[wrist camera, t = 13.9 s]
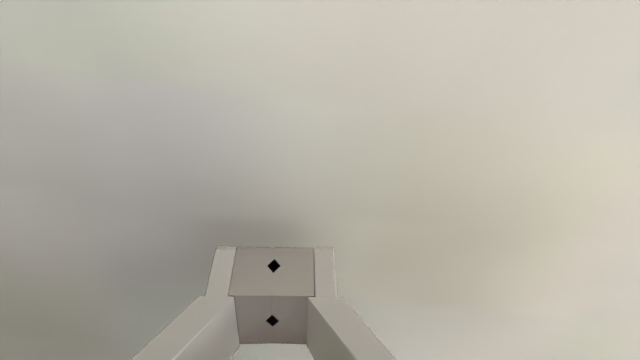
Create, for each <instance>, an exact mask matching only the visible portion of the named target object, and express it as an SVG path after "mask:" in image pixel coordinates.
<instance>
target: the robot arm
mask: <svg viewBox="0 0 640 360" xmlns="http://www.w3.org/2000/svg"><path fill="white" fill-rule="evenodd" d="M259 343H283V344H307V347H308V349H309V351H310V352H311V354H312V356H313V357H314V359H315V360H396V359H395V358H394V357H393V356H392V354H391V353H390V352H389V351H388V350H387V348H386V347H385V346H384V345H383V344H382V343H381V341H380V340H379V339H378V338H377V337H376V336H375V334H374V333H373V332H372V331H371V330H370V329H369V327H368V326H367V325H366V324H365V323H364V321H363V320H362V319H361V318H360V317H359V316H358V314H357V313H356V312H355V311H354V310H353V309H352V307H351V306H350V305H349V304H348V303H347V302H346V300H345V299H344V298H343V297H337V285H336V270H335V255H334V249H333V248H314V249H313V248H296V247H276V248H269V247H242V246H238V247H231V246H218V247H217V249H216V250H215V254H214V258H213V263H212V267H211V271H210V276H209V280H208V284H207V288H206V293H205V296H199V297H198V298H196V299H195V300H194V301H193V302H192V303H191V304H190V305H189V306H188V307H187V308H186V309H185V310H184V311H183V312H181V313H180V314H179V315H178V316H177V317H176V318H175V319H174V320H173V321H172V322H171V323H170V324H169V325H168V326H167V327H165V328H164V329H163V330H162V331H161V332H160V333H159V334H158V335H157V336H156V337H155V338H154V339H153V340H152V341H150V342H149V343H148V344H147V345H146V346H145V347H144V348H143V349H142V350H141V351H140V352H139V353H138V354H137V355H136V356H134V357H133V358H132V359H131V360H230V358H231V357H232V356H233V354H234V353H235V352H236V350H237V349H238V347H239V346H240V345H239V344H259Z"/></svg>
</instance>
